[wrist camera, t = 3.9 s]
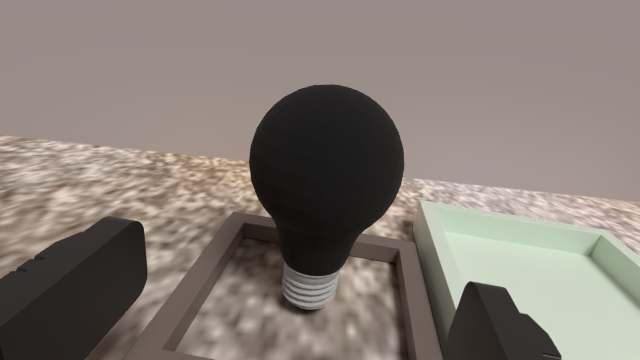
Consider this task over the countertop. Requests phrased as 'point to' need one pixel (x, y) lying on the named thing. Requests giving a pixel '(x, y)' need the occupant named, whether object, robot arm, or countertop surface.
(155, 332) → the brown square frame
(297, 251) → the light bulb
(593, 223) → the countertop surface
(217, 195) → the countertop surface
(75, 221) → the countertop surface
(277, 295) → the countertop surface
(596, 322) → the parts tray
